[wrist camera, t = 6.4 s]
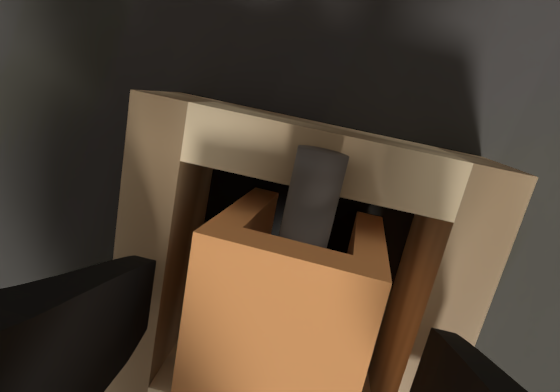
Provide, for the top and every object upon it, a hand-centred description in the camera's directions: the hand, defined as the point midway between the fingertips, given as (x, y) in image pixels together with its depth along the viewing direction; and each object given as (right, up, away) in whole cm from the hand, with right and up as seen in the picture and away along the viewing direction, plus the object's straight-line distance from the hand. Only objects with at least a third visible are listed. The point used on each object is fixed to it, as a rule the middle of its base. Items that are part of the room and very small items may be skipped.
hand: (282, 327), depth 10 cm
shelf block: (+1, +1, +4) cm, 4 cm away
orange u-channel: (+1, +1, +3) cm, 4 cm away
